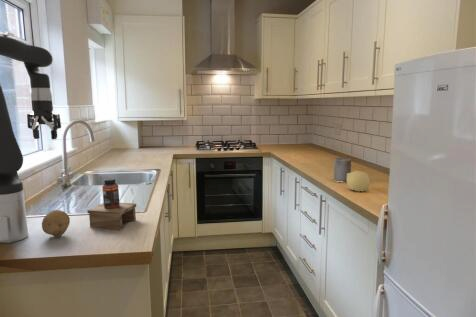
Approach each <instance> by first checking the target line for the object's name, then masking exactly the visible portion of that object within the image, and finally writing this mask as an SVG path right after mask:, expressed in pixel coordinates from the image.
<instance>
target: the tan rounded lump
mask: <svg viewBox="0 0 476 317" xmlns="http://www.w3.org/2000/svg"><path fill="white" fill-rule="evenodd" d="M368 175H369V173H367V172H365V171H360V170H354V171H351V173H347V183H346V186H347V188H348V189H349V190H350V189H351V190H350V191H353V190H355V192H360V191H361V192H365V191H367V190H368V189H369V187H370V183H371V182H370V178H369V176H368Z"/></svg>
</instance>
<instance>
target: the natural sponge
mask: <svg viewBox="0 0 476 317" xmlns="http://www.w3.org/2000/svg"><path fill="white" fill-rule="evenodd" d="M70 222H71V219H70V216H69V214H68V213H67V212H65V211H63V210H61V209H60V210H59V209H55V210H52V211H50V212H48V213H47V214H45V216H44V217H43V218H42V221H41V229H42V231H43V232H44V233H45V234H46V235H50V236H52V237H55V238H60V237H61V236H63V235H64V234H65V232H66V231H67V229H68V228H69V225H70Z"/></svg>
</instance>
